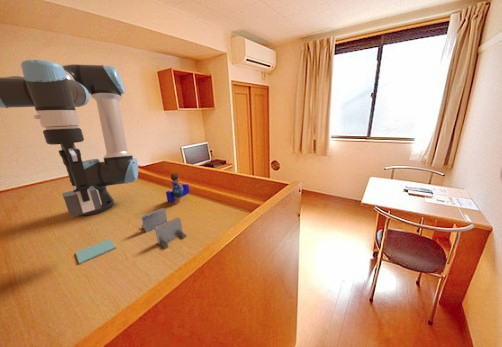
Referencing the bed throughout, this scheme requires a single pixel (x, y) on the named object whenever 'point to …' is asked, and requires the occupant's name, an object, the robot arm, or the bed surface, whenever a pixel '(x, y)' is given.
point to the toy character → (176, 187)
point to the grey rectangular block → (74, 203)
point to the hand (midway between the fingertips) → (86, 208)
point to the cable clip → (171, 196)
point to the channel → (162, 226)
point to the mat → (94, 251)
